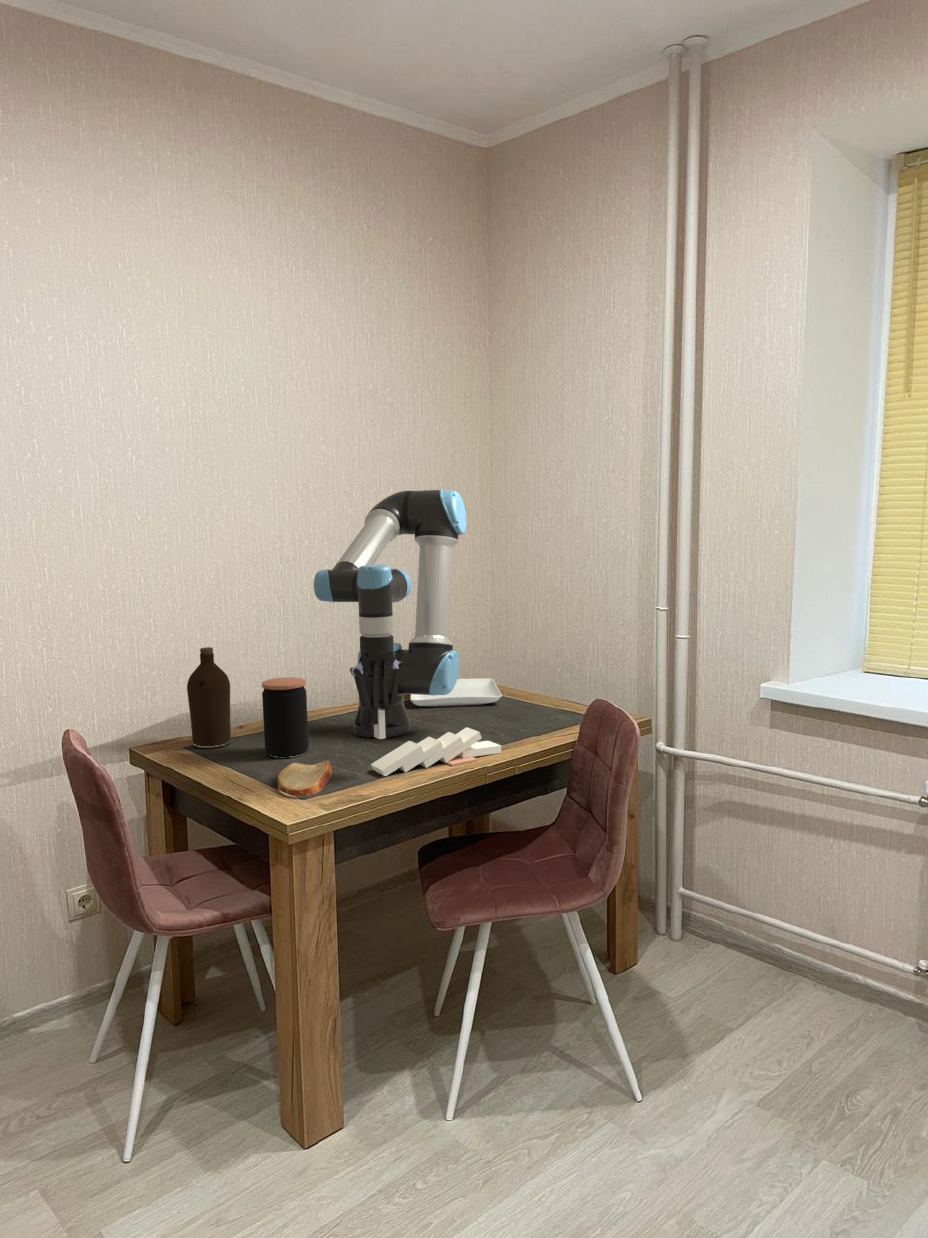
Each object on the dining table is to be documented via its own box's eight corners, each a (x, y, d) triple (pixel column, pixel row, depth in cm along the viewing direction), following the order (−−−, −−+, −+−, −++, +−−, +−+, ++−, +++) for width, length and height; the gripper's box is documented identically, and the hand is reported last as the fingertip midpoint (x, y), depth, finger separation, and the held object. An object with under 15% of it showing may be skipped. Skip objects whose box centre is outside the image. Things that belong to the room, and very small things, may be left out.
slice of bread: (302, 803, 196) (302, 785, 196) (250, 786, 208) (249, 769, 207) (366, 782, 209) (365, 765, 209) (313, 767, 221) (313, 751, 221)
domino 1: (382, 770, 211) (421, 745, 216) (370, 764, 216) (409, 740, 220) (384, 777, 211) (423, 752, 216) (373, 771, 216) (411, 747, 221)
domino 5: (463, 750, 222) (501, 745, 228) (450, 745, 227) (488, 740, 233) (462, 758, 223) (501, 752, 229) (450, 752, 227) (488, 747, 233)
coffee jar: (317, 750, 234) (314, 679, 232) (289, 761, 225) (285, 687, 223) (285, 745, 239) (281, 675, 237) (255, 755, 230) (252, 683, 228)
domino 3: (423, 761, 217) (460, 736, 221) (412, 756, 221) (448, 731, 226) (426, 768, 217) (463, 743, 222) (414, 762, 222) (451, 737, 226)
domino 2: (402, 766, 214) (440, 741, 219) (391, 760, 218) (428, 736, 223) (405, 772, 214) (443, 748, 219) (393, 766, 219) (431, 742, 224)
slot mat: (452, 766, 218) (452, 764, 218) (430, 756, 227) (430, 754, 227) (477, 761, 222) (477, 759, 222) (454, 751, 230) (454, 749, 230)
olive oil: (237, 746, 240) (232, 649, 236) (195, 752, 235) (189, 653, 231) (227, 736, 249) (222, 643, 245) (186, 742, 244) (180, 647, 241)
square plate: (493, 688, 304) (492, 676, 303) (502, 707, 277) (502, 694, 276) (409, 691, 302) (408, 679, 301) (410, 711, 275) (410, 698, 274)
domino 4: (443, 756, 219) (479, 731, 224) (431, 751, 224) (466, 727, 229) (446, 763, 220) (481, 738, 225) (433, 757, 225) (469, 733, 229)
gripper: (394, 629, 216) (397, 729, 220) (342, 635, 209) (346, 738, 213) (410, 633, 210) (413, 736, 213) (357, 639, 203) (361, 745, 206)
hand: (379, 737), depth 213 cm, fingers closed
